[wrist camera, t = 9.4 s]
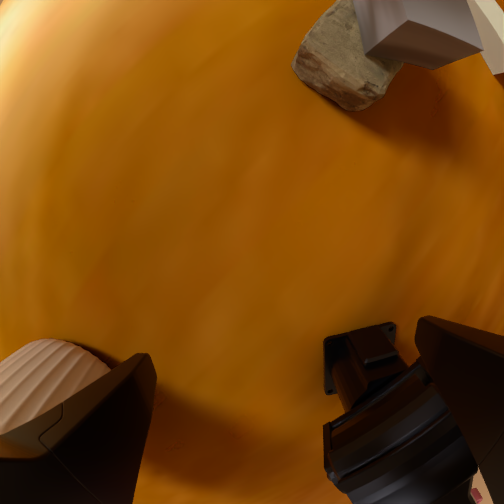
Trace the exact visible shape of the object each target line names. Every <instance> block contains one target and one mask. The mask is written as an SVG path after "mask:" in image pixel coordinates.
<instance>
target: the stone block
mask: <svg viewBox="0 0 504 504" xmlns="http://www.w3.org/2000/svg"><path fill="white" fill-rule="evenodd" d="M403 64H404V62H400V61H396V60H391V59H386V58H381V57H375V56H370V55H364V49H363V44H362V39H361V34H360V29H359V24H358V20H357V16H356V11H355V7H354V3H353V0H336V2H335V3H334V4H333V5H332V6H331V7H330V8H329V9H328V10H327V11H326V12H325V13H324V14H323V15H322V16H321V17H320V18H319V19H318V21H317V22H316V23H315V24H314V26H313V27H312V28H311V29H310V30H309V32H308V33H307V34H306V36H305V37H304V39H303V41H302V43H301V45H300V47H299V50H298V51H297V53H296V55H295V57H294V60H293V61H292V64H291V66H292V68H293V70H294V72H295V73H296V74H297V75H298V77H299V78H300V79H301V80H302V81H303V82H304V83H305V84H307V85H308V86H310V87H311V88H313V89H315V90H316V91H317V92H318V93H320V94H322V95H324V96H326V97H329V98H330V99H332V100H333V101H335V102H336V103H337V104H338V105H339V106H341V107H342V108H344V109H345V110H347V111H360V110H364V109H365V108H367V107H369V106H370V105H371V104H372V103H374V102H375V101H377V100H379V99H381V98H383V97H384V95H385V92H386V90H387V88H388V86H389V84H390V82H391V81H392V79H393V78H394V76H395V75H396V73H397V72H398V71H399V70H400V69H401V68H402V66H403Z"/></svg>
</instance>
